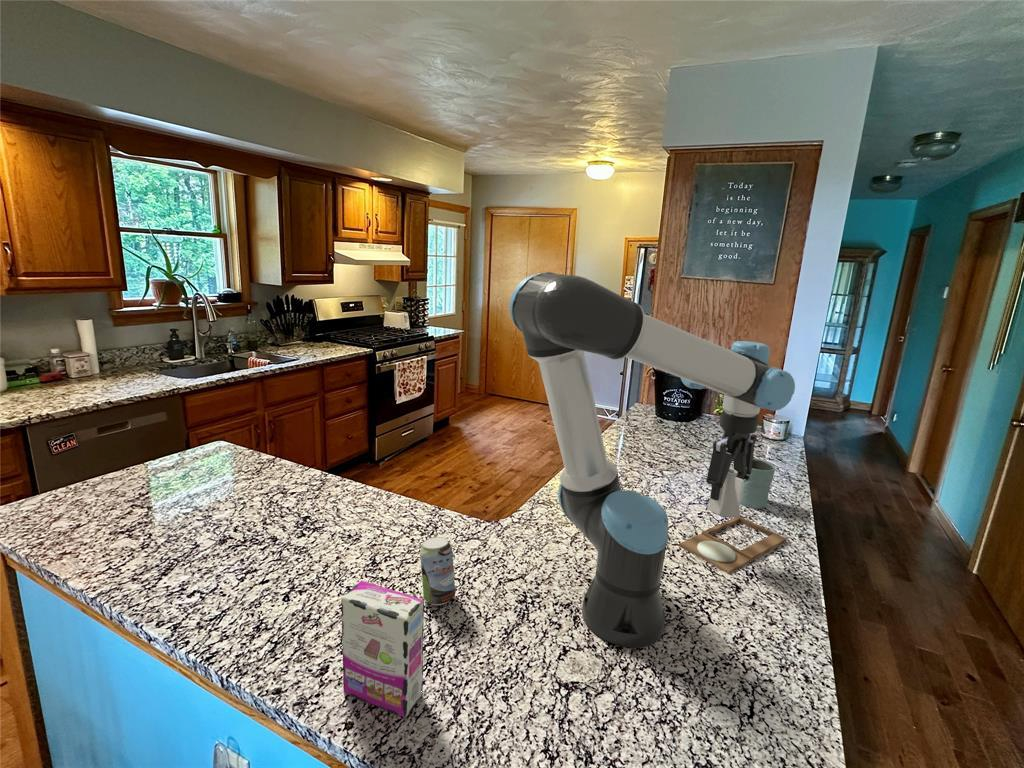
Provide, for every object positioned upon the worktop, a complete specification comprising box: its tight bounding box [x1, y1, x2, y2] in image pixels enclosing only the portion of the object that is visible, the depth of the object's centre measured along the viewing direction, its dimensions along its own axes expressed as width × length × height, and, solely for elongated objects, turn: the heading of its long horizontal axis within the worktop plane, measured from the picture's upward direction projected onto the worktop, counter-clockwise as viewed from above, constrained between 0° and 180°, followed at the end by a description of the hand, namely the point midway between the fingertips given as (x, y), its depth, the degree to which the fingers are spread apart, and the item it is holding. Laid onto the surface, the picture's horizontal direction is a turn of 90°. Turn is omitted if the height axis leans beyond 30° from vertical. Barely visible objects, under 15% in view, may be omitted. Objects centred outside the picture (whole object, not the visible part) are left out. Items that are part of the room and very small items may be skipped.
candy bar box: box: [340, 580, 425, 719], centre depth 73 cm, size 11×5×16 cm, turn 69°
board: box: [678, 516, 788, 574], centre depth 123 cm, size 26×13×1 cm, turn 126°
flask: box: [707, 467, 741, 518], centre depth 114 cm, size 7×7×10 cm
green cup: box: [740, 457, 776, 510], centre depth 145 cm, size 10×10×12 cm
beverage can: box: [419, 536, 456, 606], centre depth 95 cm, size 6×7×12 cm
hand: (724, 507), depth 115 cm, fingers closed on flask, 7 cm apart
